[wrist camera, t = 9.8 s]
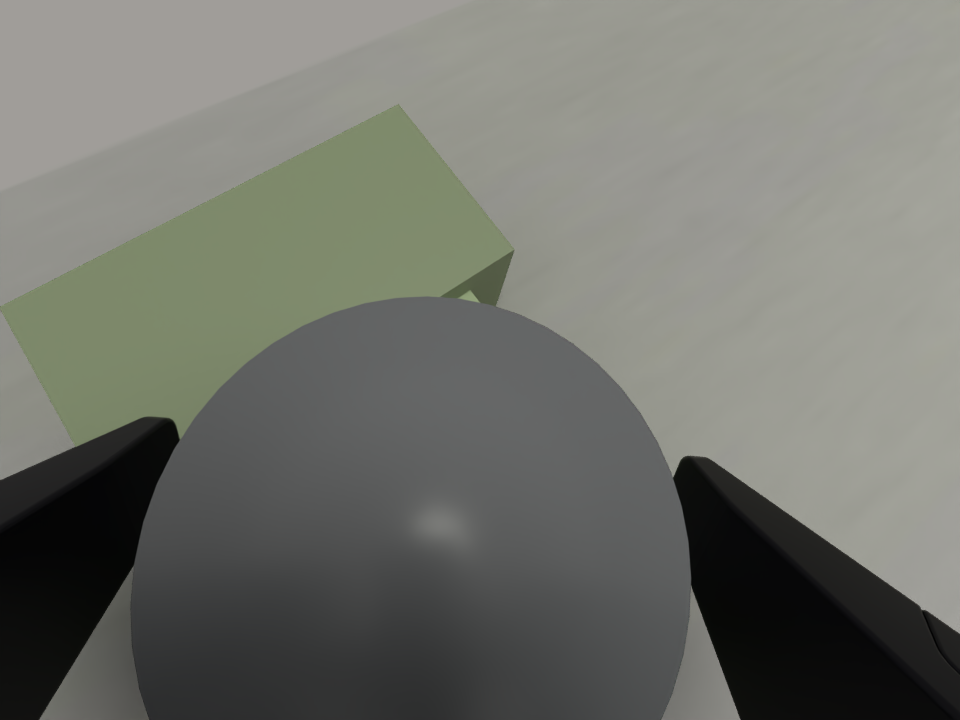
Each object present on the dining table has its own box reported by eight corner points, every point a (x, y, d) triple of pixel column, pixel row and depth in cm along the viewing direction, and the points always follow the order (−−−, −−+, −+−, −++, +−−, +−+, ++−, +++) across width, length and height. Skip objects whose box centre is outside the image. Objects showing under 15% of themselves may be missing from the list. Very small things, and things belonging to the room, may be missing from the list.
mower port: (641, 503, 17) (722, 510, 12) (356, 748, 14) (314, 882, 9) (408, 199, 19) (398, 104, 14) (125, 359, 17) (-1, 307, 12)
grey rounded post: (528, 473, 17) (760, 443, 5) (461, 609, 15) (547, 1042, 3) (409, 406, 17) (343, 216, 5) (332, 534, 16) (-9, 691, 4)
